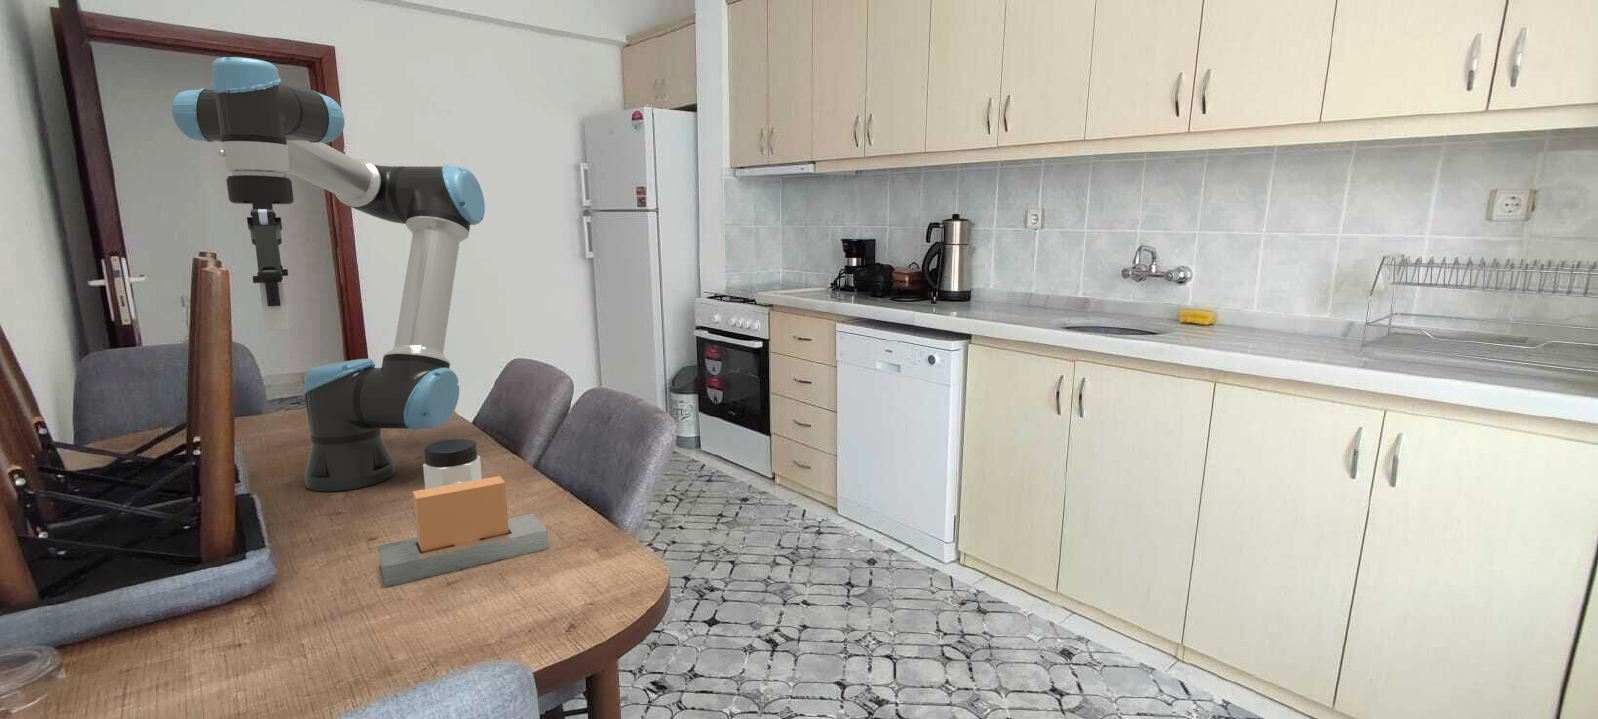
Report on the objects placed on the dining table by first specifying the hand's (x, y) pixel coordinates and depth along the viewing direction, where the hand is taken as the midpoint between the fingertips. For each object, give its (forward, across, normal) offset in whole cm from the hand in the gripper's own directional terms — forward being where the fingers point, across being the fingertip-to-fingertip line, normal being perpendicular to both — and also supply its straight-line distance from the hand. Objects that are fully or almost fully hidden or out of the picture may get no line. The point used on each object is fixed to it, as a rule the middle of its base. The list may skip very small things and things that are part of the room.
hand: (277, 324), depth 108 cm
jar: (+35, -2, +22) cm, 41 cm away
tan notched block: (+35, +18, +20) cm, 44 cm away
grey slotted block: (+35, +18, +20) cm, 44 cm away
